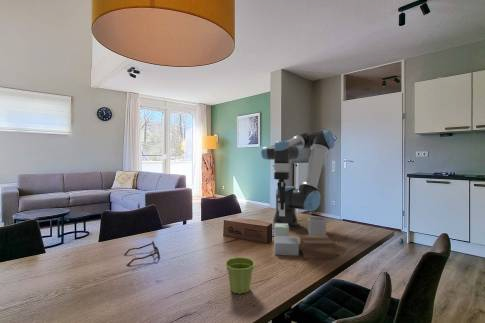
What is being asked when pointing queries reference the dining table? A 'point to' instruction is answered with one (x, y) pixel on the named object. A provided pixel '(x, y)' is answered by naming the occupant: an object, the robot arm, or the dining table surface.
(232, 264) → the plant pot
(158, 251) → the glasses
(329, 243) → the walnut plinth
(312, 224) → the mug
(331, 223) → the dining table surface
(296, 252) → the slate block
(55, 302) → the dining table surface
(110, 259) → the dining table surface
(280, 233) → the sage cube
